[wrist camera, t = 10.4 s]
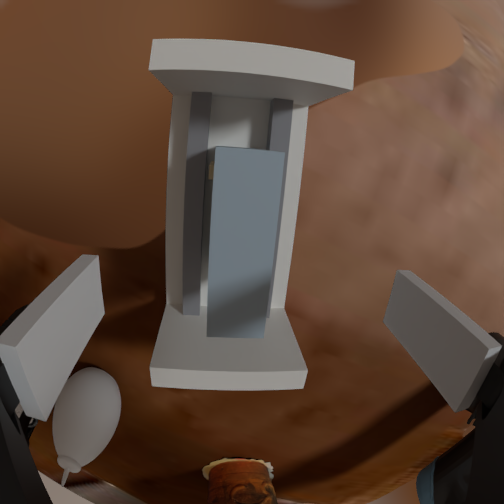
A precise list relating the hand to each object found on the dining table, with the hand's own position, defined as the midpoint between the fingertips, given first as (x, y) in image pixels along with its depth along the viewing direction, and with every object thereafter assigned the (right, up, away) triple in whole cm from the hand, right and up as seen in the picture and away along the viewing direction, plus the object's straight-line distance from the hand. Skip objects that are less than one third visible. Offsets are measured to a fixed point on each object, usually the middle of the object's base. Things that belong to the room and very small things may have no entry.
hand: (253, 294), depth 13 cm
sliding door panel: (-2, +6, +15) cm, 17 cm away
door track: (-2, +6, +17) cm, 18 cm away
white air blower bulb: (-20, -14, +23) cm, 34 cm away
